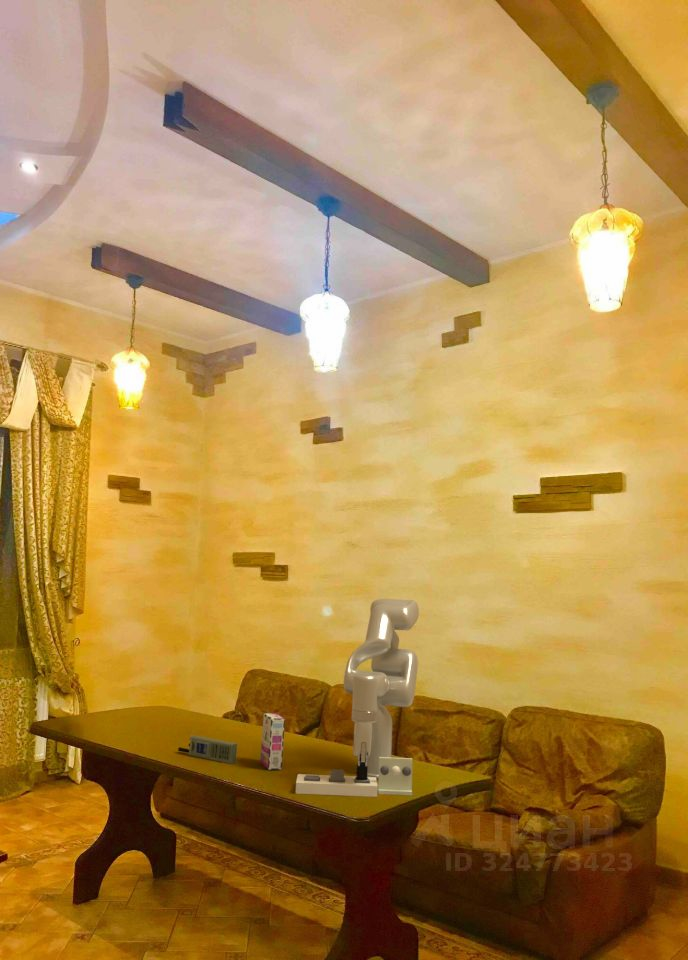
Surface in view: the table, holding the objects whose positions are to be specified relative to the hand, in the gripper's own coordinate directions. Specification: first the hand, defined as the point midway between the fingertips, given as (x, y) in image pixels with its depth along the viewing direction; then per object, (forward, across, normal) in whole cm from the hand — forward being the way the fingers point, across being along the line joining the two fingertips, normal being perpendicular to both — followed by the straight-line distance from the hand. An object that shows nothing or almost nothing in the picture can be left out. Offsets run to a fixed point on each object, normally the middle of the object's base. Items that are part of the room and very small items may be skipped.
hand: (361, 779), depth 215 cm
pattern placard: (+4, 0, +10) cm, 11 cm away
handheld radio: (+4, -34, -53) cm, 63 cm away
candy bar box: (+4, -26, -30) cm, 40 cm away
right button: (+3, 0, 0) cm, 3 cm away
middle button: (+1, 0, -7) cm, 8 cm away
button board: (+4, 0, -7) cm, 8 cm away
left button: (+3, 0, -15) cm, 15 cm away
